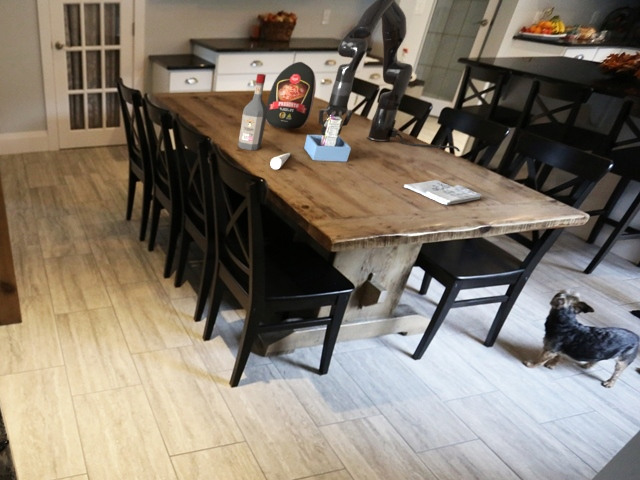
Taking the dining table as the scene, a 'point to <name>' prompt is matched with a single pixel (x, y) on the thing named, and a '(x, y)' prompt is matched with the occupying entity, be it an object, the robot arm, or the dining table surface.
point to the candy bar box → (331, 132)
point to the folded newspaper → (444, 192)
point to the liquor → (254, 119)
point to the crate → (326, 149)
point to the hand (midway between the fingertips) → (329, 135)
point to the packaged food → (291, 97)
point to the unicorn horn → (279, 161)
